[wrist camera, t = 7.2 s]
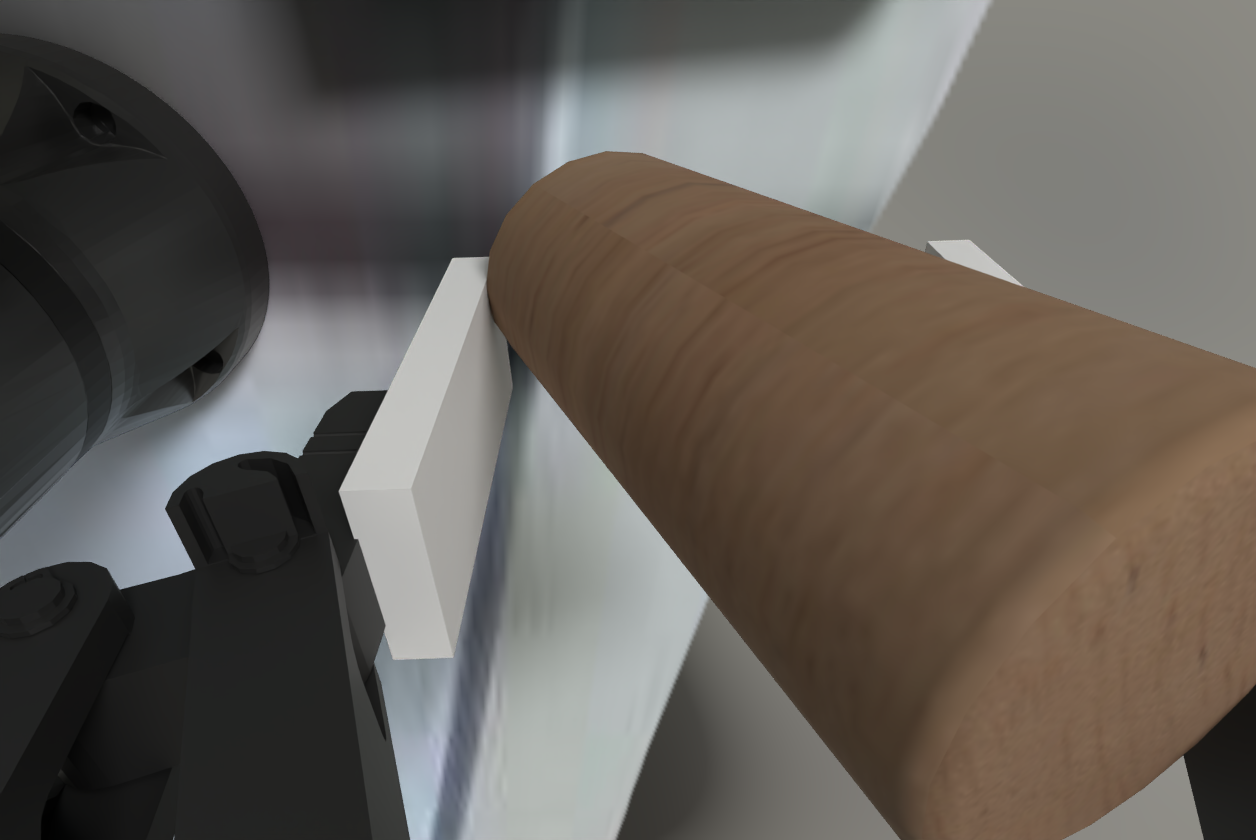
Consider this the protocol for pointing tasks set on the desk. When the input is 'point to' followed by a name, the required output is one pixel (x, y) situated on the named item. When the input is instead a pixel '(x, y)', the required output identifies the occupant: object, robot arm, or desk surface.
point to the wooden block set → (906, 487)
